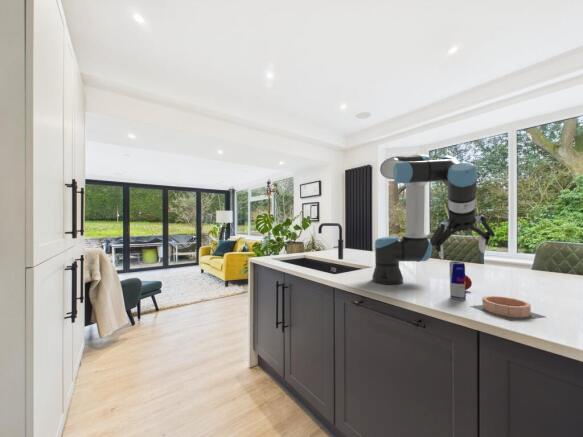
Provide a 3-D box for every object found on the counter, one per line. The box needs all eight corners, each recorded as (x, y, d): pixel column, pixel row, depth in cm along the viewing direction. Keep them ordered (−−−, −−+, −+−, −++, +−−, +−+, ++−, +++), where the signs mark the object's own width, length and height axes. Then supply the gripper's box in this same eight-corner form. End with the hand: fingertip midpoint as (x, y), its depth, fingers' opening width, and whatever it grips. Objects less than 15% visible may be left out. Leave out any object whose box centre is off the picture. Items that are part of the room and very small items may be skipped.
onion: (474, 292, 108) (474, 274, 108) (459, 292, 109) (459, 273, 110) (468, 289, 114) (467, 271, 114) (454, 288, 115) (453, 271, 115)
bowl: (474, 306, 89) (474, 297, 89) (502, 304, 91) (502, 295, 91) (510, 319, 77) (509, 308, 77) (540, 316, 80) (540, 305, 80)
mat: (469, 307, 90) (469, 306, 90) (501, 304, 92) (501, 303, 92) (510, 322, 76) (510, 321, 76) (547, 318, 79) (547, 316, 79)
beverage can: (461, 302, 96) (460, 262, 96) (447, 298, 100) (446, 261, 101) (468, 300, 98) (467, 261, 99) (455, 296, 103) (454, 260, 103)
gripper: (424, 221, 85) (428, 265, 96) (511, 205, 78) (505, 254, 89) (418, 209, 92) (422, 252, 102) (498, 193, 84) (493, 241, 95)
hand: (460, 253), depth 96 cm, fingers open, 13 cm apart
